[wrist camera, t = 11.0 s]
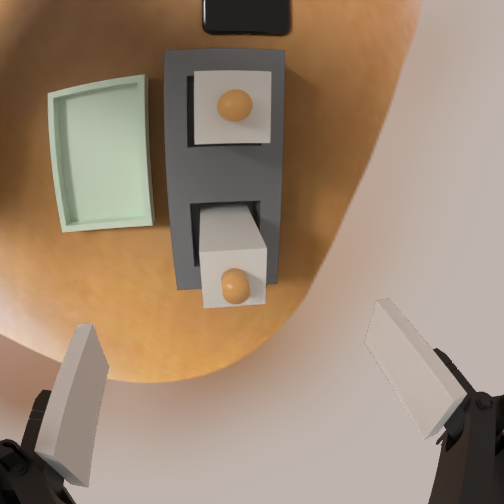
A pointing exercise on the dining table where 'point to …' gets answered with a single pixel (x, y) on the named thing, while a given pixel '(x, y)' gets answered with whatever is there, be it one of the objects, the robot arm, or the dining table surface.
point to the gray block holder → (223, 145)
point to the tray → (102, 154)
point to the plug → (231, 256)
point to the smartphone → (246, 17)
